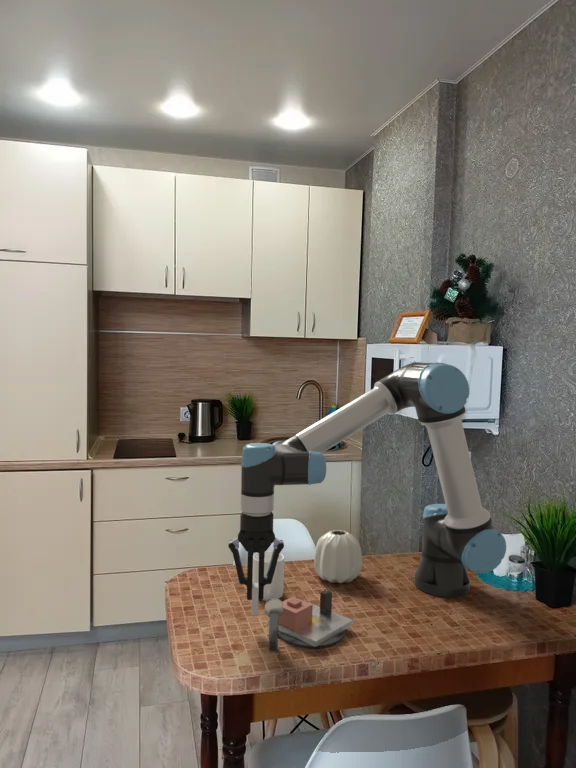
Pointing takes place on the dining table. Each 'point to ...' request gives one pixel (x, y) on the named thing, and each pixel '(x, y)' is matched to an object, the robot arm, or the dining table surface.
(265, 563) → the mug
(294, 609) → the cover
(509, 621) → the dining table surface
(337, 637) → the turntable base
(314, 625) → the turntable
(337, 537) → the vase
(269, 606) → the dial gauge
